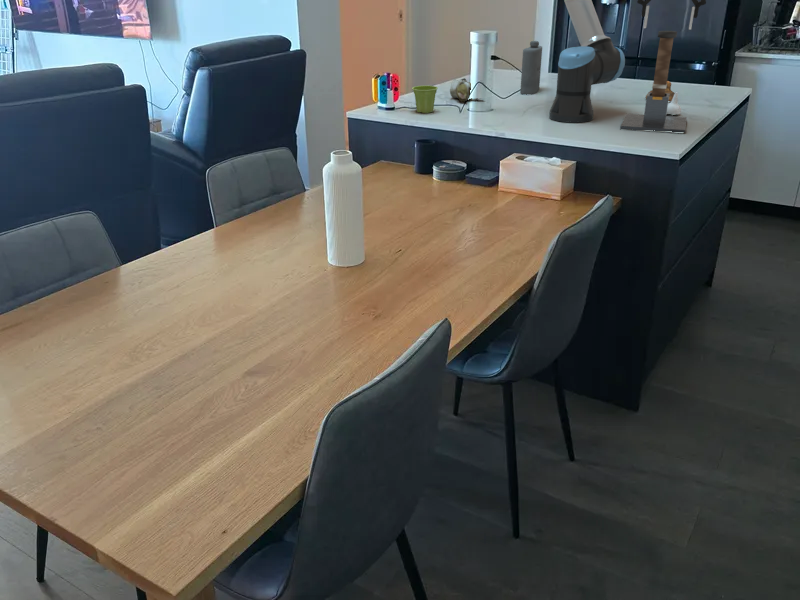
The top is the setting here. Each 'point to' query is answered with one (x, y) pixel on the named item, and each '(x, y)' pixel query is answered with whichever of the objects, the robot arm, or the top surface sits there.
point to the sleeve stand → (654, 117)
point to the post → (663, 62)
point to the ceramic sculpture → (460, 89)
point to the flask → (531, 68)
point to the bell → (668, 91)
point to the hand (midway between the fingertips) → (667, 28)
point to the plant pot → (425, 98)
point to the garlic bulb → (674, 106)
